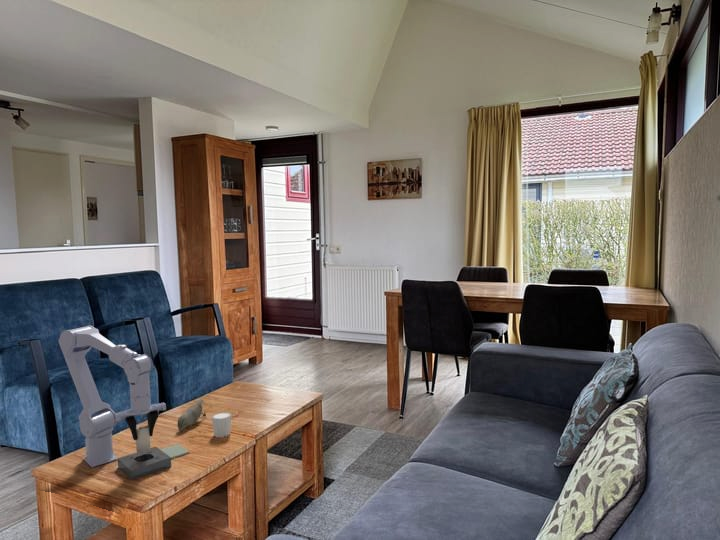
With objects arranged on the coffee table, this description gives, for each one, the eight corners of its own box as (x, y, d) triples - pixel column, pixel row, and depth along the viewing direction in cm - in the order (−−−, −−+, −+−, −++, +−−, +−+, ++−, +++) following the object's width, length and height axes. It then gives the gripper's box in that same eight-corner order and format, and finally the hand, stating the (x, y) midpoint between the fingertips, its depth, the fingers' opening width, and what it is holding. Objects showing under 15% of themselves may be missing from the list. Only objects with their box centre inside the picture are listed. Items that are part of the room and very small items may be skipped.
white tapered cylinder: (211, 432, 185) (210, 413, 184) (230, 429, 187) (230, 411, 187) (213, 439, 178) (212, 420, 178) (233, 436, 181) (232, 417, 180)
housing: (118, 467, 158) (117, 458, 158) (156, 455, 166) (155, 446, 166) (131, 480, 149) (131, 470, 149) (171, 466, 158) (170, 457, 158)
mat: (157, 451, 169) (157, 450, 169) (178, 445, 174) (177, 443, 174) (168, 459, 163) (168, 458, 163) (189, 452, 168) (189, 451, 167)
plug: (135, 449, 158) (133, 426, 157) (148, 445, 160) (147, 423, 160) (138, 453, 155) (137, 430, 154) (152, 449, 157) (150, 426, 157)
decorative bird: (173, 432, 186) (172, 412, 186) (196, 417, 202) (195, 399, 202) (186, 433, 185) (185, 413, 185) (208, 417, 201) (207, 399, 200)
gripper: (118, 403, 149) (121, 447, 150) (168, 392, 158) (170, 434, 159) (112, 397, 154) (115, 440, 155) (161, 387, 163) (163, 428, 164)
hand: (142, 437), depth 157 cm, fingers closed on plug, 4 cm apart
